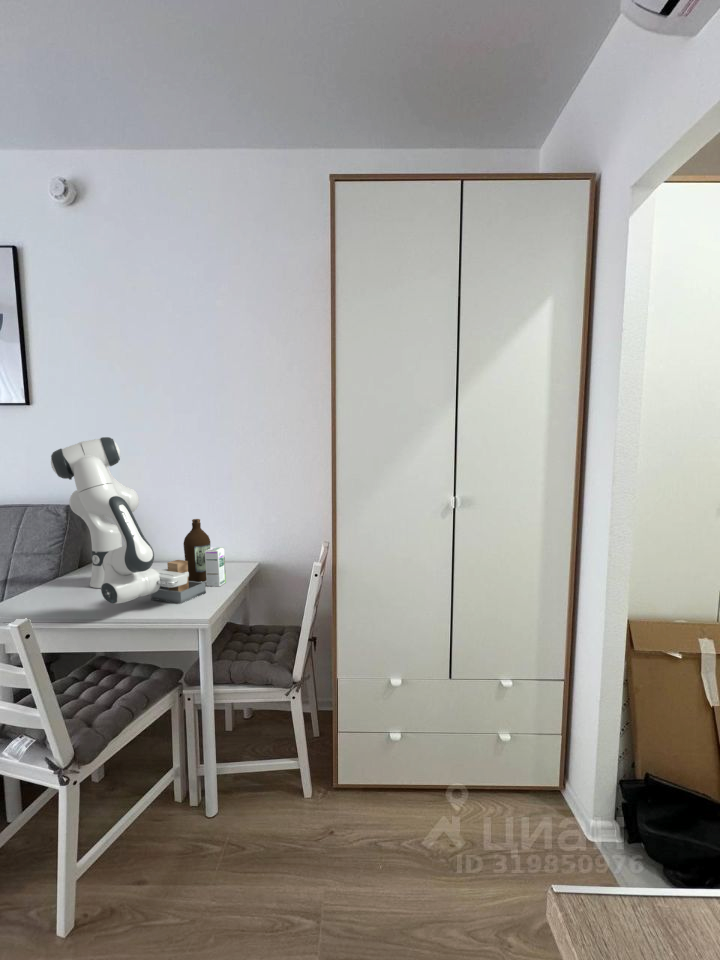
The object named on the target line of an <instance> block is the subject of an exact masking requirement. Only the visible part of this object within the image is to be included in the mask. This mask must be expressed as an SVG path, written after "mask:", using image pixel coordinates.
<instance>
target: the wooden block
mask: <svg viewBox="0 0 720 960" xmlns="http://www.w3.org/2000/svg"><path fill="white" fill-rule="evenodd" d="M166 564H167V569H168V571H172V572H179V573H182V572H188V561H185V559H184V560H183V559H176V560H171V561H168V562H167V563H166ZM168 588H169V590H171V591H179V592H181V591H183V590H186V589H189V583H188V577H187V583H186V584H184V585H181V586H177V587H168Z"/></svg>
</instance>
